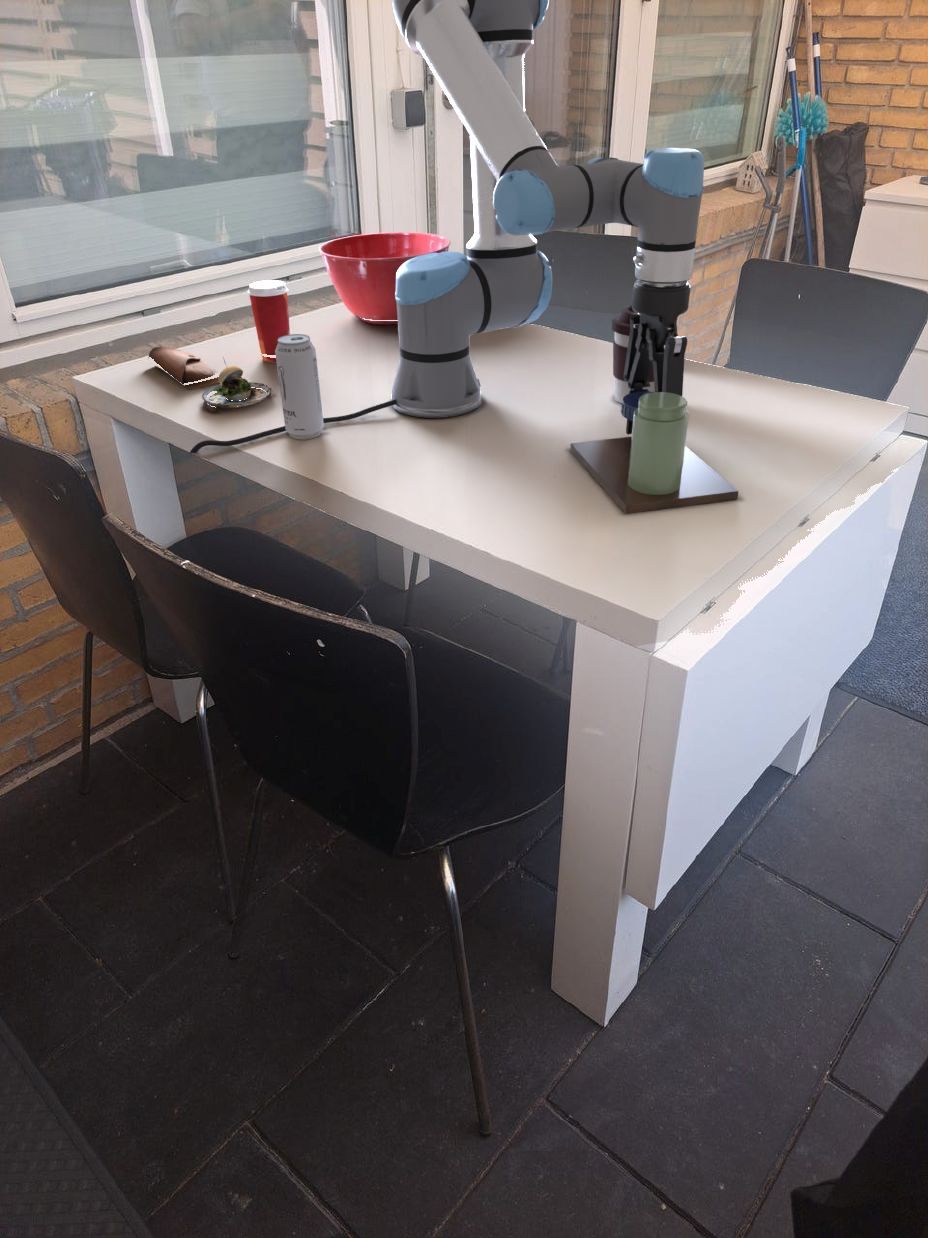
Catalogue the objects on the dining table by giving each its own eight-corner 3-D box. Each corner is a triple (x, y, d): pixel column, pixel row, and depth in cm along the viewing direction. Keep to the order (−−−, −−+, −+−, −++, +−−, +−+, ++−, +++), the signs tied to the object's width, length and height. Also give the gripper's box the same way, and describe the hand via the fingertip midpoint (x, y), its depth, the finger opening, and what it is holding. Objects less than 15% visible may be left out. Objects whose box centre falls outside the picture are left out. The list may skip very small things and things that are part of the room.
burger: (209, 418, 149) (201, 374, 145) (197, 397, 158) (189, 354, 154) (280, 407, 153) (274, 364, 149) (264, 387, 162) (259, 345, 158)
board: (625, 513, 117) (626, 505, 116) (569, 450, 135) (570, 443, 134) (737, 499, 120) (739, 491, 119) (668, 439, 138) (669, 431, 137)
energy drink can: (282, 430, 144) (269, 336, 136) (318, 424, 146) (308, 330, 138) (291, 443, 139) (278, 346, 131) (329, 436, 141) (318, 340, 133)
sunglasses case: (228, 378, 165) (205, 350, 160) (200, 404, 164) (176, 377, 159) (190, 356, 177) (168, 329, 172) (164, 380, 176) (141, 354, 171)
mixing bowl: (309, 332, 191) (300, 255, 183) (346, 299, 215) (339, 229, 206) (439, 336, 187) (436, 257, 179) (462, 301, 211) (460, 231, 202)
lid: (677, 407, 131) (679, 393, 130) (672, 426, 125) (673, 412, 124) (625, 402, 133) (626, 388, 132) (617, 421, 127) (618, 406, 126)
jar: (639, 498, 118) (648, 411, 112) (619, 476, 124) (626, 393, 117) (689, 491, 119) (700, 406, 113) (667, 471, 125) (676, 388, 119)
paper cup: (304, 355, 177) (296, 281, 170) (278, 366, 172) (268, 290, 164) (275, 350, 181) (265, 277, 173) (248, 360, 176) (237, 285, 168)
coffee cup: (671, 394, 155) (681, 304, 147) (656, 413, 147) (666, 319, 139) (616, 387, 158) (622, 299, 150) (598, 405, 151) (604, 314, 143)
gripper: (607, 265, 127) (597, 420, 139) (668, 301, 110) (649, 473, 123) (657, 262, 128) (642, 416, 141) (724, 296, 111) (700, 467, 124)
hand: (646, 442), depth 132 cm, fingers closed on lid, 7 cm apart
